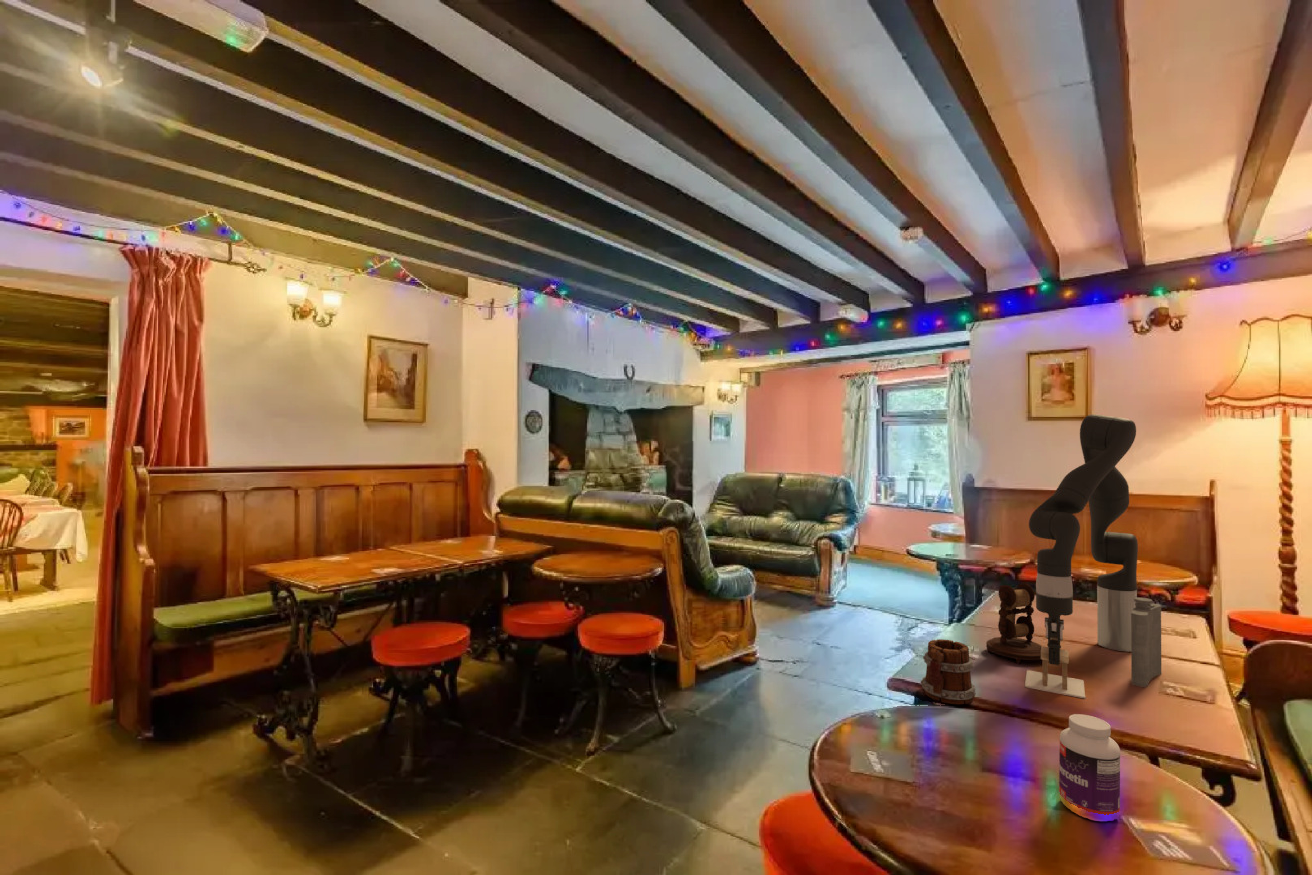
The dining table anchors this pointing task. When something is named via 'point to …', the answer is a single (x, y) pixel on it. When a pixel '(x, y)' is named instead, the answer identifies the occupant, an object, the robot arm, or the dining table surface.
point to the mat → (1055, 684)
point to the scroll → (1015, 625)
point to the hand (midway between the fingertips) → (1054, 658)
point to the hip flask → (1145, 641)
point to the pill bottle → (1089, 765)
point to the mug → (948, 672)
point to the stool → (1063, 659)
